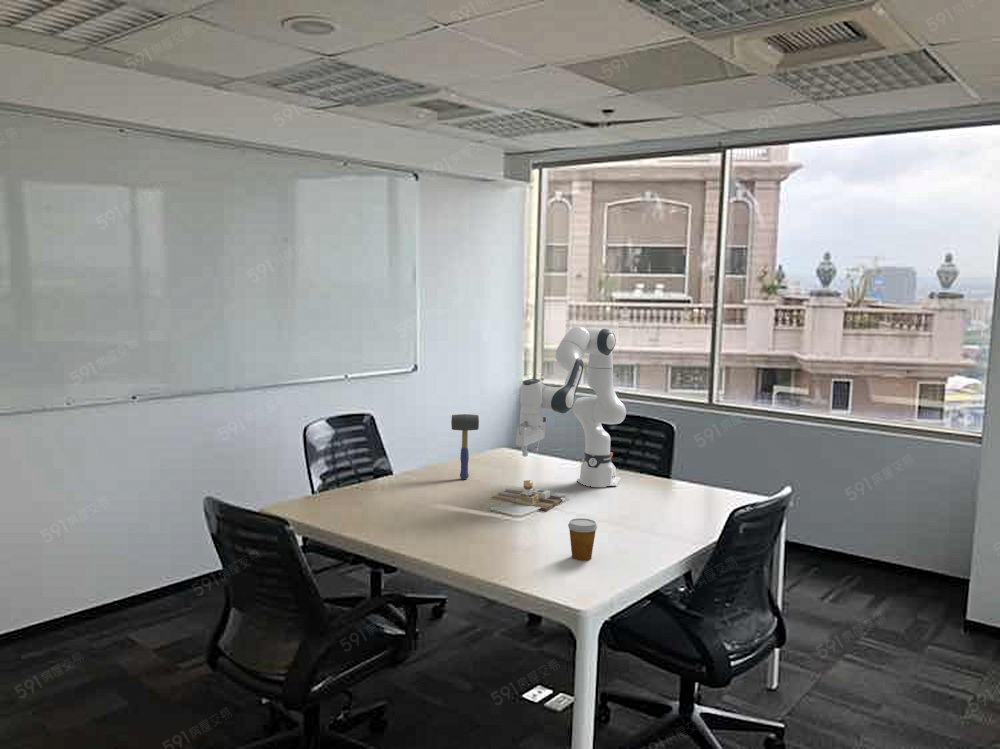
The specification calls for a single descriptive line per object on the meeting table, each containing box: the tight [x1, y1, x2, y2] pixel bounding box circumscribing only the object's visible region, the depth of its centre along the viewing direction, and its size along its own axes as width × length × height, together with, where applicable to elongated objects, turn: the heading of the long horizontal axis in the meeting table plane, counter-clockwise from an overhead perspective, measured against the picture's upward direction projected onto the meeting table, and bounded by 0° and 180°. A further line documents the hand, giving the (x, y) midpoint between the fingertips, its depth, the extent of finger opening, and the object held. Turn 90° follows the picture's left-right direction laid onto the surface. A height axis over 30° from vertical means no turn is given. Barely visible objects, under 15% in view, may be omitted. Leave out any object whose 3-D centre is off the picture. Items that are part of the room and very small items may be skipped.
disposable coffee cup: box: [567, 517, 598, 562], centre depth 261 cm, size 10×10×12 cm
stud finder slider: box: [532, 488, 551, 499], centre depth 329 cm, size 5×8×3 cm, turn 62°
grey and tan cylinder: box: [523, 479, 534, 497], centre depth 322 cm, size 4×4×8 cm
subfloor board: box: [488, 488, 563, 513], centre depth 328 cm, size 16×26×2 cm, turn 62°
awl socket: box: [515, 492, 540, 506], centre depth 322 cm, size 7×7×3 cm
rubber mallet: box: [451, 413, 480, 480], centre depth 363 cm, size 12×8×30 cm, turn 95°
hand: (530, 453), depth 321 cm, fingers open, 8 cm apart
